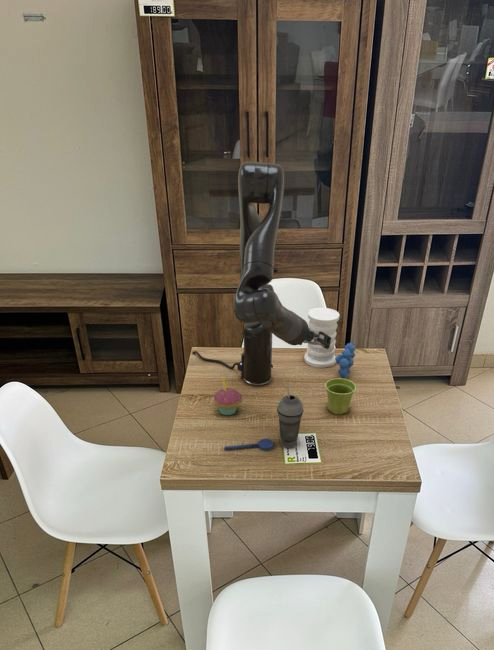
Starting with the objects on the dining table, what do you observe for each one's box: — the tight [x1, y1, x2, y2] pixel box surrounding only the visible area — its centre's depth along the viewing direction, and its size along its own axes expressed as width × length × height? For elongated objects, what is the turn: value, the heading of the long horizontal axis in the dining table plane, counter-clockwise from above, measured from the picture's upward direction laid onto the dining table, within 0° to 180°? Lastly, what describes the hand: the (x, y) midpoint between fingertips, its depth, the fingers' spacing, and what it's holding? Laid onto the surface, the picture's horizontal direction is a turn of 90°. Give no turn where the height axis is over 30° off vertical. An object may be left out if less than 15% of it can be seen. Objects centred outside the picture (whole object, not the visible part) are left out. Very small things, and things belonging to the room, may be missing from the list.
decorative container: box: [303, 307, 340, 369], centre depth 192 cm, size 12×12×18 cm
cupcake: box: [213, 375, 243, 416], centre depth 163 cm, size 9×8×12 cm
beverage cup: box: [276, 380, 304, 449], centre depth 149 cm, size 7×7×20 cm
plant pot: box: [324, 377, 357, 415], centre depth 167 cm, size 9×9×9 cm
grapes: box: [335, 342, 356, 379], centre depth 185 cm, size 12×7×12 cm, turn 158°
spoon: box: [223, 438, 275, 451], centre depth 152 cm, size 14×4×1 cm, turn 102°
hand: (314, 343), depth 153 cm, fingers open, 8 cm apart
